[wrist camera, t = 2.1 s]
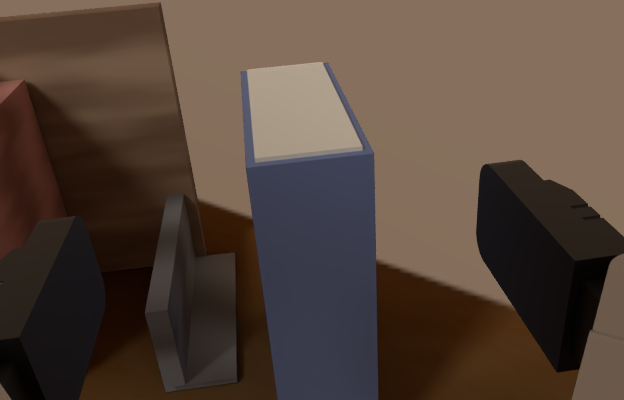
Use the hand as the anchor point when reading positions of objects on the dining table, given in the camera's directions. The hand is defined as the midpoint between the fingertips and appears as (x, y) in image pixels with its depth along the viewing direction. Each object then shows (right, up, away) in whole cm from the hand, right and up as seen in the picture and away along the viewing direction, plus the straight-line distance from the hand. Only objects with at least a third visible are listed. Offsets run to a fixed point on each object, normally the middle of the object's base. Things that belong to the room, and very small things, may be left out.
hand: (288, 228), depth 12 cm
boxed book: (+1, -8, +18) cm, 19 cm away
